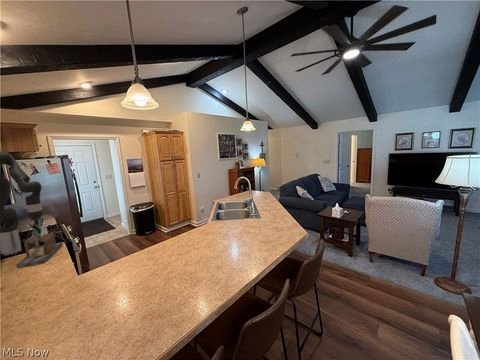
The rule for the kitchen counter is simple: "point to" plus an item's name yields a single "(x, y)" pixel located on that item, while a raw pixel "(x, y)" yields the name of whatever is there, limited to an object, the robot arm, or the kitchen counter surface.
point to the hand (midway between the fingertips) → (39, 233)
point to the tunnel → (49, 246)
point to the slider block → (37, 247)
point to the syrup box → (43, 230)
